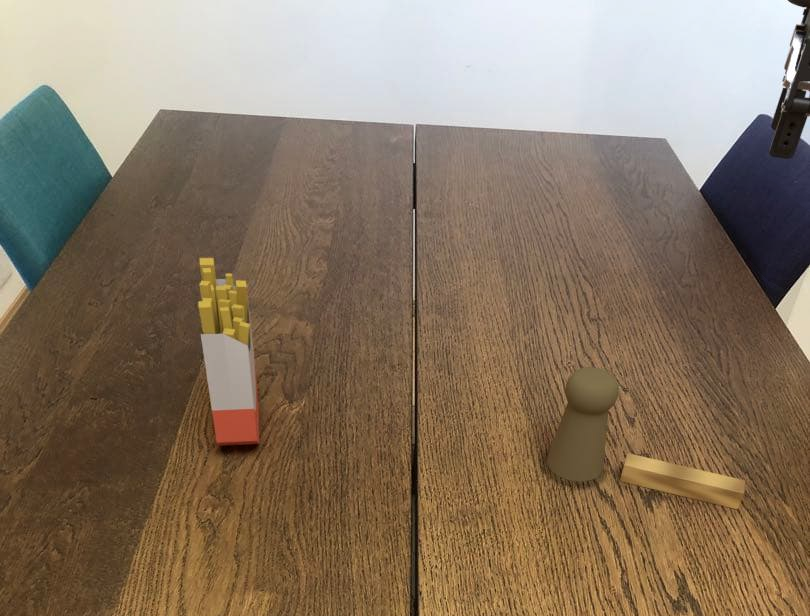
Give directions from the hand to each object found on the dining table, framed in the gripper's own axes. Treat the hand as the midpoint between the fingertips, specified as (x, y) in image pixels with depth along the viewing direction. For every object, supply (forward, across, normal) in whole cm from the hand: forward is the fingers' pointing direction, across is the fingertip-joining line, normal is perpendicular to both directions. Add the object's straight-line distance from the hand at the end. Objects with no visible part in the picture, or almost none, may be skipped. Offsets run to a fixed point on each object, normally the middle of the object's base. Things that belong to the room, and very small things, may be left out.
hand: (780, 142), depth 80 cm
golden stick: (+28, -21, 0) cm, 35 cm away
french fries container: (+28, -29, +47) cm, 62 cm away
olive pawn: (+28, -20, +11) cm, 37 cm away
